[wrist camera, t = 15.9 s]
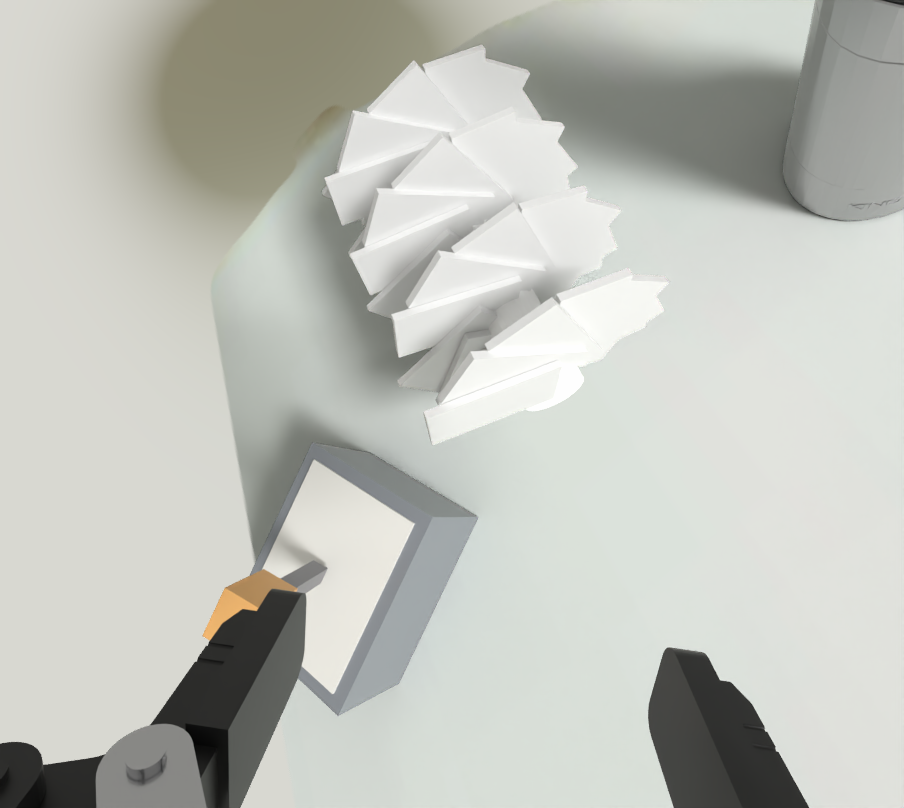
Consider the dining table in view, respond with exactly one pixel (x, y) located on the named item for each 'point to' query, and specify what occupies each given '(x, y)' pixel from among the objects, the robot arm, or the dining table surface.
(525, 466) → the dining table surface
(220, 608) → the lever
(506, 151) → the spiral staircase
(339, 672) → the block
